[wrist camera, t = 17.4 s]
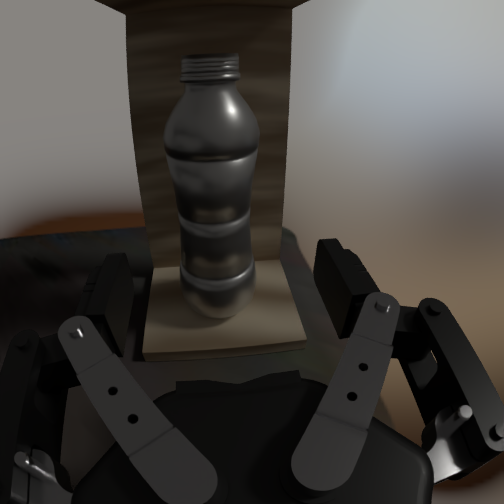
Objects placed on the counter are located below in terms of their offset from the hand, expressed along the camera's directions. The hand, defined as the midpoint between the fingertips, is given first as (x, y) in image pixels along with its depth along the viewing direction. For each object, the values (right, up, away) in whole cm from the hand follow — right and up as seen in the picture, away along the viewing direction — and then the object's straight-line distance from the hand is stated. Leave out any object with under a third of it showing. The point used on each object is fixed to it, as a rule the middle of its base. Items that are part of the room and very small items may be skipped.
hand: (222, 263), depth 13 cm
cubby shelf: (-2, -4, +16) cm, 17 cm away
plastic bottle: (-2, -4, +15) cm, 16 cm away
